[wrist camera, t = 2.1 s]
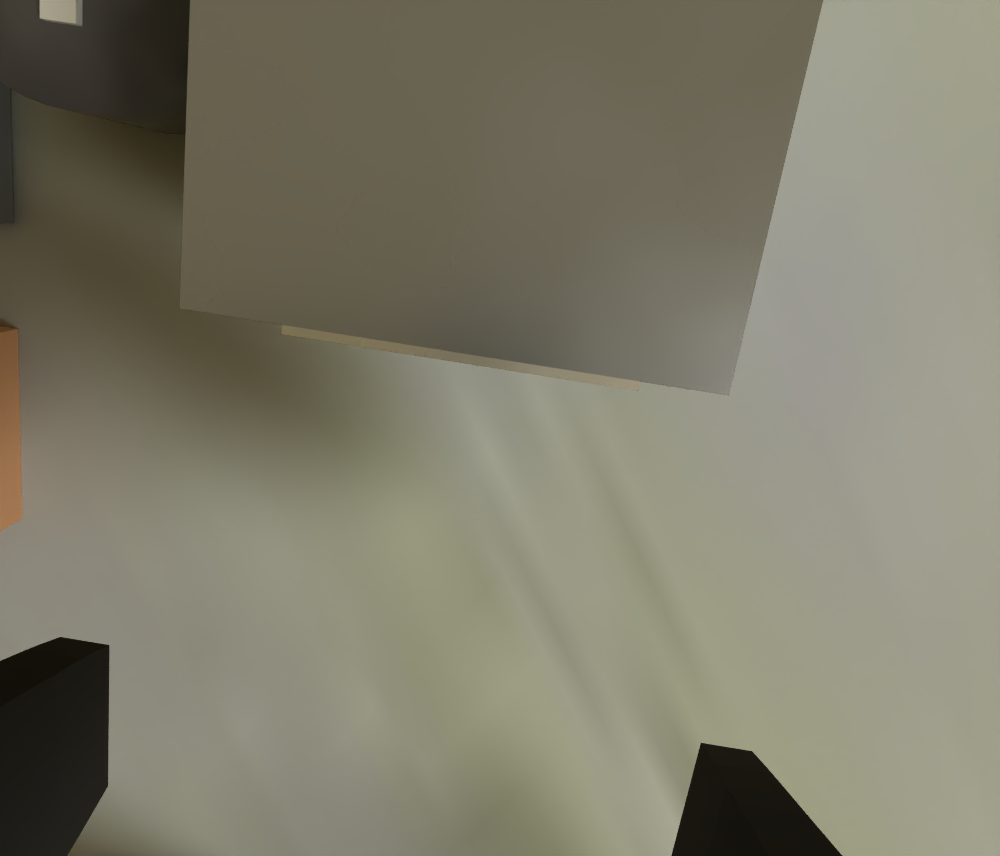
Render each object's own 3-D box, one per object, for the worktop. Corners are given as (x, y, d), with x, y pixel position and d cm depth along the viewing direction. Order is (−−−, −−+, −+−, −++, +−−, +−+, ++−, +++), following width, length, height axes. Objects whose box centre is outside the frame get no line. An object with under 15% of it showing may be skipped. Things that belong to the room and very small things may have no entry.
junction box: (668, 348, 14) (772, 452, 8) (307, 291, 14) (113, 347, 8) (787, -213, 12) (1083, -739, 5) (352, -277, 12) (124, -872, 5)
